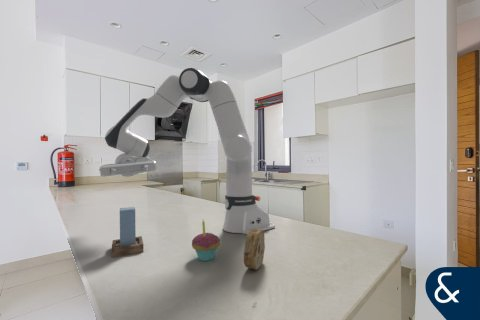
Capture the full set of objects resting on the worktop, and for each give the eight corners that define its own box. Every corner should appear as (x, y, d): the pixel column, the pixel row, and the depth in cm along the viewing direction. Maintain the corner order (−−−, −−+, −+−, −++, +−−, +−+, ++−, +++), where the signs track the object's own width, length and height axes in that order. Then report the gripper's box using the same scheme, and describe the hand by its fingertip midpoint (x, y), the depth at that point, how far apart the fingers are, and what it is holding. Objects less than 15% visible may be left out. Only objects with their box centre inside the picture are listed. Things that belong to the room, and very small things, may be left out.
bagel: (254, 258, 70) (254, 224, 70) (266, 260, 68) (266, 225, 68) (241, 274, 60) (240, 235, 60) (254, 276, 58) (254, 236, 58)
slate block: (135, 241, 80) (134, 206, 80) (135, 246, 76) (135, 209, 76) (120, 244, 78) (119, 208, 78) (120, 248, 74) (119, 210, 74)
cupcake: (215, 264, 65) (214, 221, 65) (186, 262, 67) (186, 220, 67) (223, 252, 74) (223, 214, 74) (197, 251, 75) (197, 213, 75)
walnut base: (141, 243, 83) (141, 236, 83) (143, 251, 75) (143, 244, 75) (112, 247, 79) (112, 240, 79) (111, 257, 71) (111, 249, 71)
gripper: (98, 160, 93) (97, 165, 82) (152, 156, 103) (158, 159, 92) (100, 176, 94) (99, 183, 83) (153, 170, 104) (159, 175, 93)
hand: (131, 171), depth 87 cm, fingers open, 8 cm apart
